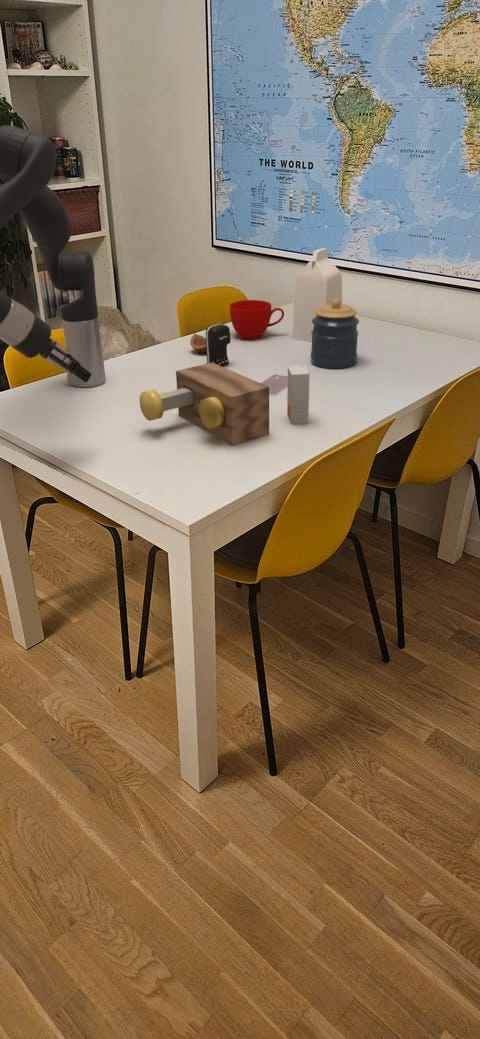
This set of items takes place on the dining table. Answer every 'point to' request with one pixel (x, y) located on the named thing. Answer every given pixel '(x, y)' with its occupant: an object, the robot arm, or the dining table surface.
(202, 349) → the broken brown shell
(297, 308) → the milk
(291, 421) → the skincare box
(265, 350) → the dining table surface
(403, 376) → the dining table surface
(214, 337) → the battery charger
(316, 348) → the canister
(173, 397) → the knob
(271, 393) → the mobile phone
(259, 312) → the ceramic cup
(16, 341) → the robot arm
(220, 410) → the block
